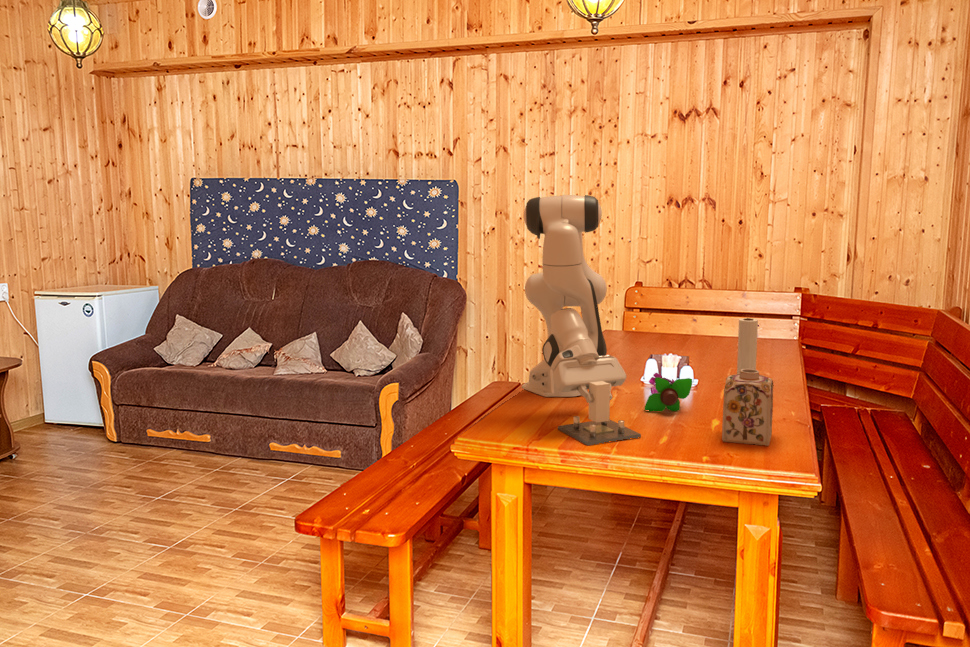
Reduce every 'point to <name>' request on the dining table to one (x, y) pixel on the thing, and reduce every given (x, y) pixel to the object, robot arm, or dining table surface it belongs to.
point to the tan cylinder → (747, 344)
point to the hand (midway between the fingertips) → (600, 400)
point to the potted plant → (667, 393)
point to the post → (599, 401)
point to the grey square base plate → (598, 431)
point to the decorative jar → (748, 408)
